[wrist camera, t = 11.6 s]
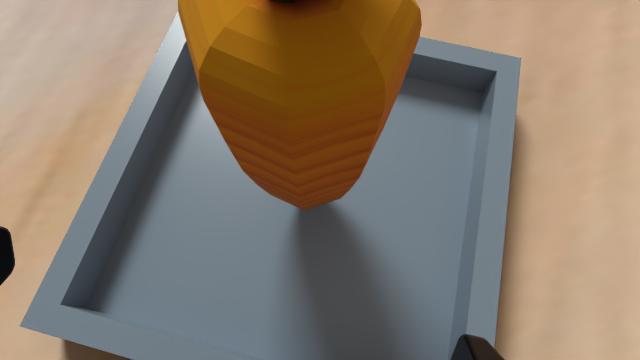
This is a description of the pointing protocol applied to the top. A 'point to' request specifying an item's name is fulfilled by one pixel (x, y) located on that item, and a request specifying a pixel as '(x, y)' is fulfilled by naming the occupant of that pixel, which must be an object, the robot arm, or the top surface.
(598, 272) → the top surface
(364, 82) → the carrot
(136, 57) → the top surface
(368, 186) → the tray
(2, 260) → the robot arm
